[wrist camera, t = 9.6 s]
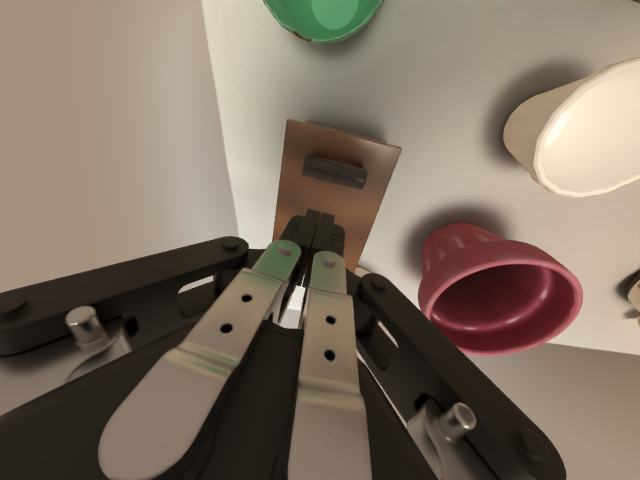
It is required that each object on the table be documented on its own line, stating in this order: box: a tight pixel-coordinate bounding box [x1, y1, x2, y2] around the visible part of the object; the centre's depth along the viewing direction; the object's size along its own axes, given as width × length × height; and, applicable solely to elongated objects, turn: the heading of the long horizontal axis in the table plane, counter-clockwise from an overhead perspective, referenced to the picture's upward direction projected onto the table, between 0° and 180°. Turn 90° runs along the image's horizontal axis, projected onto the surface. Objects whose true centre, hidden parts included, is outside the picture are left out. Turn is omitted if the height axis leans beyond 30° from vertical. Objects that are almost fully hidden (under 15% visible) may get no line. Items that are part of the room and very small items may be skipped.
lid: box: [272, 119, 402, 273], centre depth 23 cm, size 16×10×5 cm, turn 168°
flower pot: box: [418, 222, 583, 356], centre depth 29 cm, size 14×14×13 cm
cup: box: [503, 57, 640, 198], centre depth 22 cm, size 10×10×9 cm
